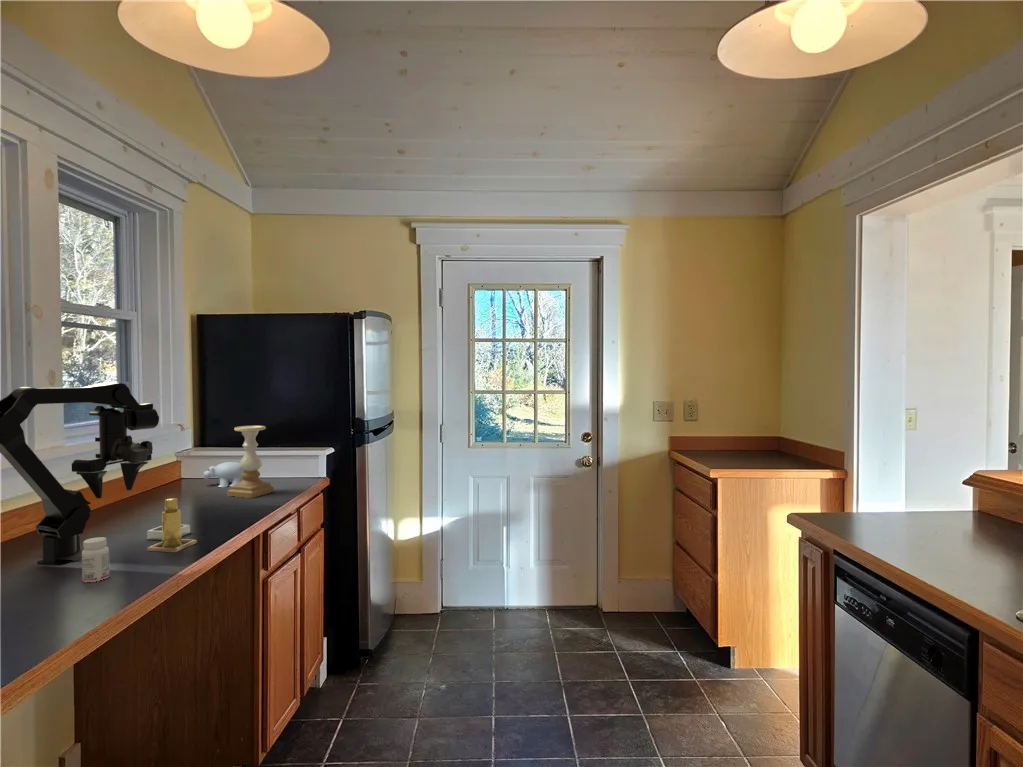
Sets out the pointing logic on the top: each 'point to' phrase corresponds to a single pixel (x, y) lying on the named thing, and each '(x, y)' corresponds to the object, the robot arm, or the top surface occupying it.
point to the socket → (157, 532)
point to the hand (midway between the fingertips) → (114, 494)
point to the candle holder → (250, 467)
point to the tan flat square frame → (158, 548)
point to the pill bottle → (95, 560)
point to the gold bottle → (171, 524)
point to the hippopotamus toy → (225, 473)
